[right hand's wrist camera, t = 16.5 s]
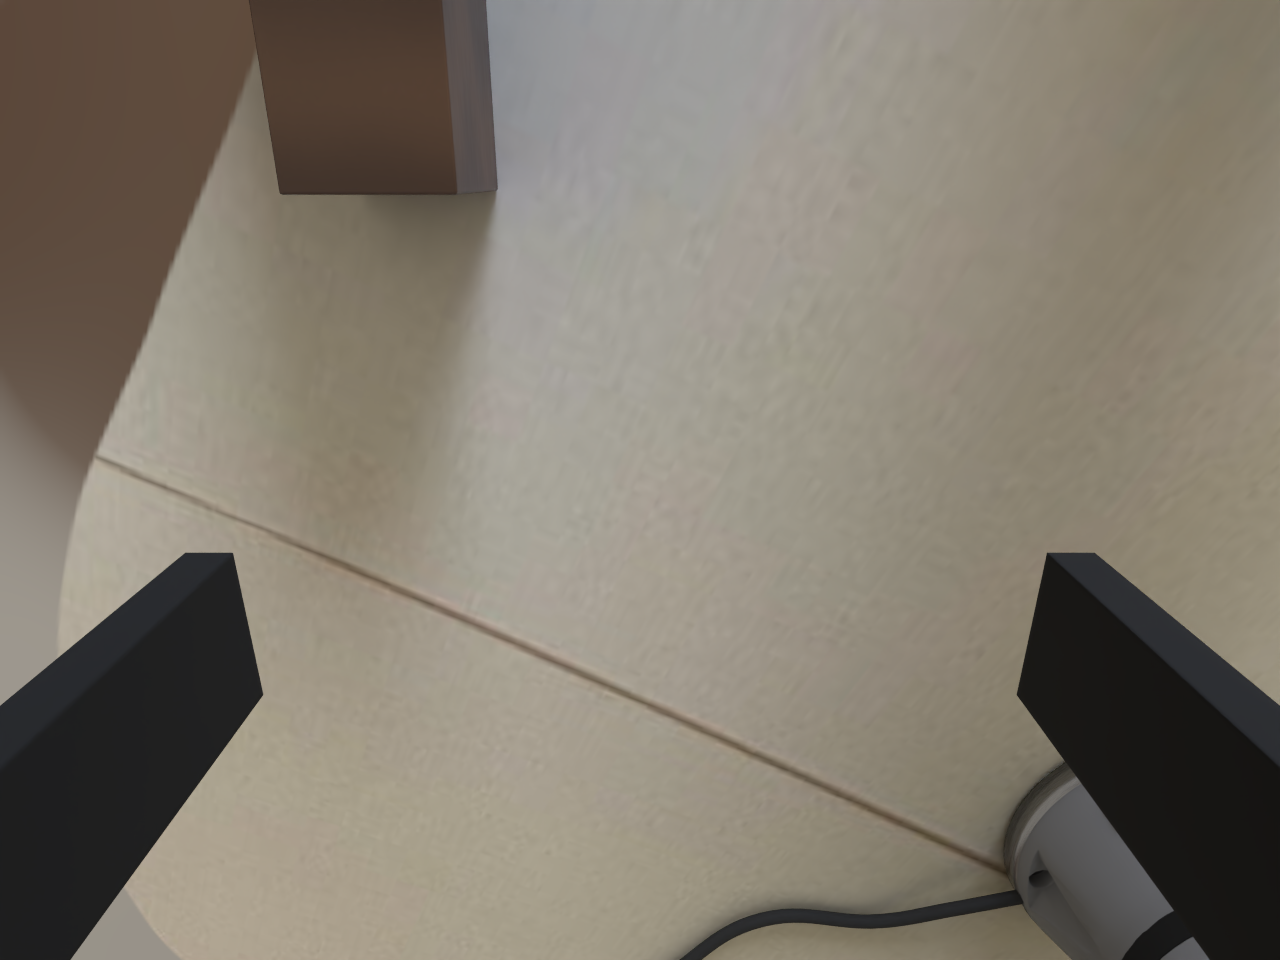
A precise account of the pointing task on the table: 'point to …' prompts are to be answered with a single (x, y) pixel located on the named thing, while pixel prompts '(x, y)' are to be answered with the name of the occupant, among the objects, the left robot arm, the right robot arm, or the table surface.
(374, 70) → the beam
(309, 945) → the table surface
